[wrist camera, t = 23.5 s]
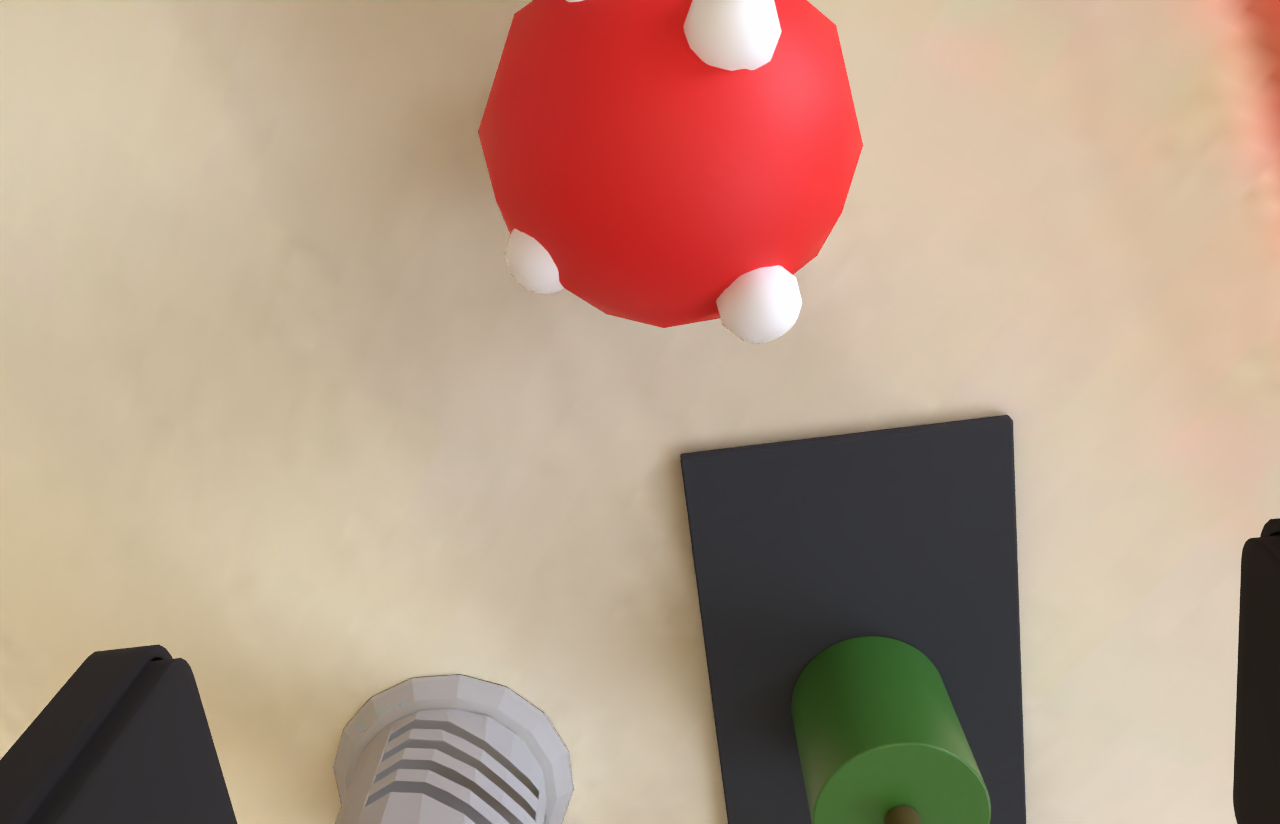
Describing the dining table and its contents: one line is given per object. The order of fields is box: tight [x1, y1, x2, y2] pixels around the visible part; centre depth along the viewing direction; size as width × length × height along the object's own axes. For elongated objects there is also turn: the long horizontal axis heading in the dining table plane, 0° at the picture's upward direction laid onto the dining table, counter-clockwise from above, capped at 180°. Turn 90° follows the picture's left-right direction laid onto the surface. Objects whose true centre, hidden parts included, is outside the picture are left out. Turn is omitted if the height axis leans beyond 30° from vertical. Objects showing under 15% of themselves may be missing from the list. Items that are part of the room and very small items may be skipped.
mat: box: [680, 415, 1026, 824], centre depth 47 cm, size 12×20×1 cm, turn 7°
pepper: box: [791, 636, 991, 824], centre depth 43 cm, size 6×6×8 cm
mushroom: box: [478, 0, 863, 344], centre depth 35 cm, size 11×11×12 cm
